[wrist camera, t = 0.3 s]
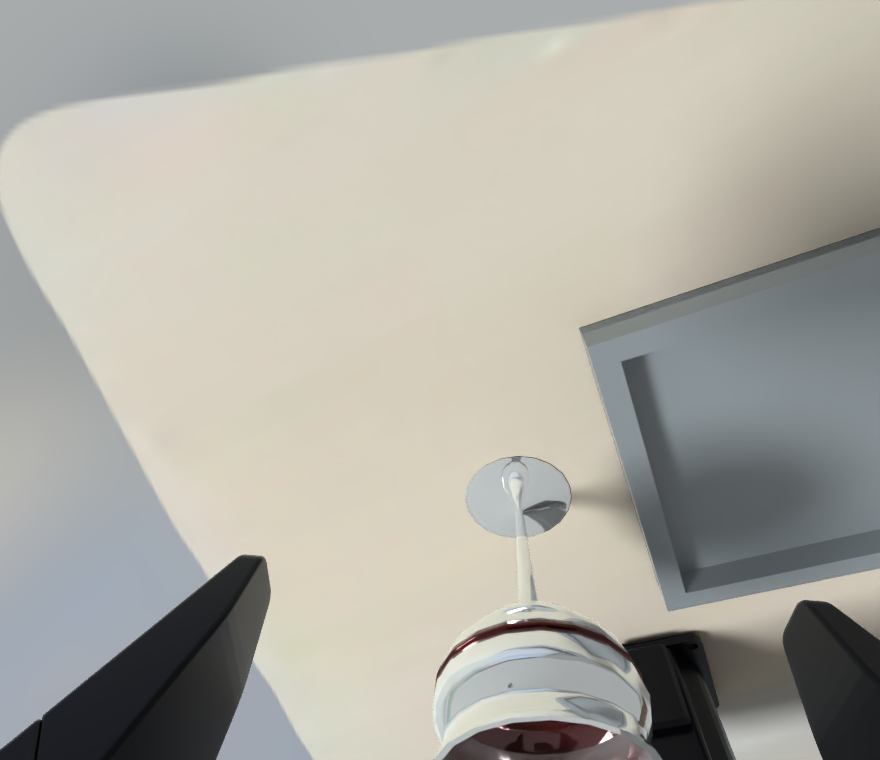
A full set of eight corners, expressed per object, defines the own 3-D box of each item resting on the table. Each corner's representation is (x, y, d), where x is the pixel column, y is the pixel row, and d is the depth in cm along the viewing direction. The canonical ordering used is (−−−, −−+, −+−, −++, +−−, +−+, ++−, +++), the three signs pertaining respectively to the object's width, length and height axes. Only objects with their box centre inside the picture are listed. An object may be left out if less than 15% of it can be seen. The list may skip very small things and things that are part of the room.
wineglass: (450, 551, 27) (434, 838, 17) (442, 441, 24) (416, 710, 14) (585, 551, 27) (656, 847, 16) (595, 438, 24) (691, 716, 13)
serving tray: (995, 507, 24) (1032, 537, 23) (657, 581, 28) (668, 611, 26) (1021, 180, 18) (1074, 189, 16) (579, 328, 21) (587, 347, 20)
